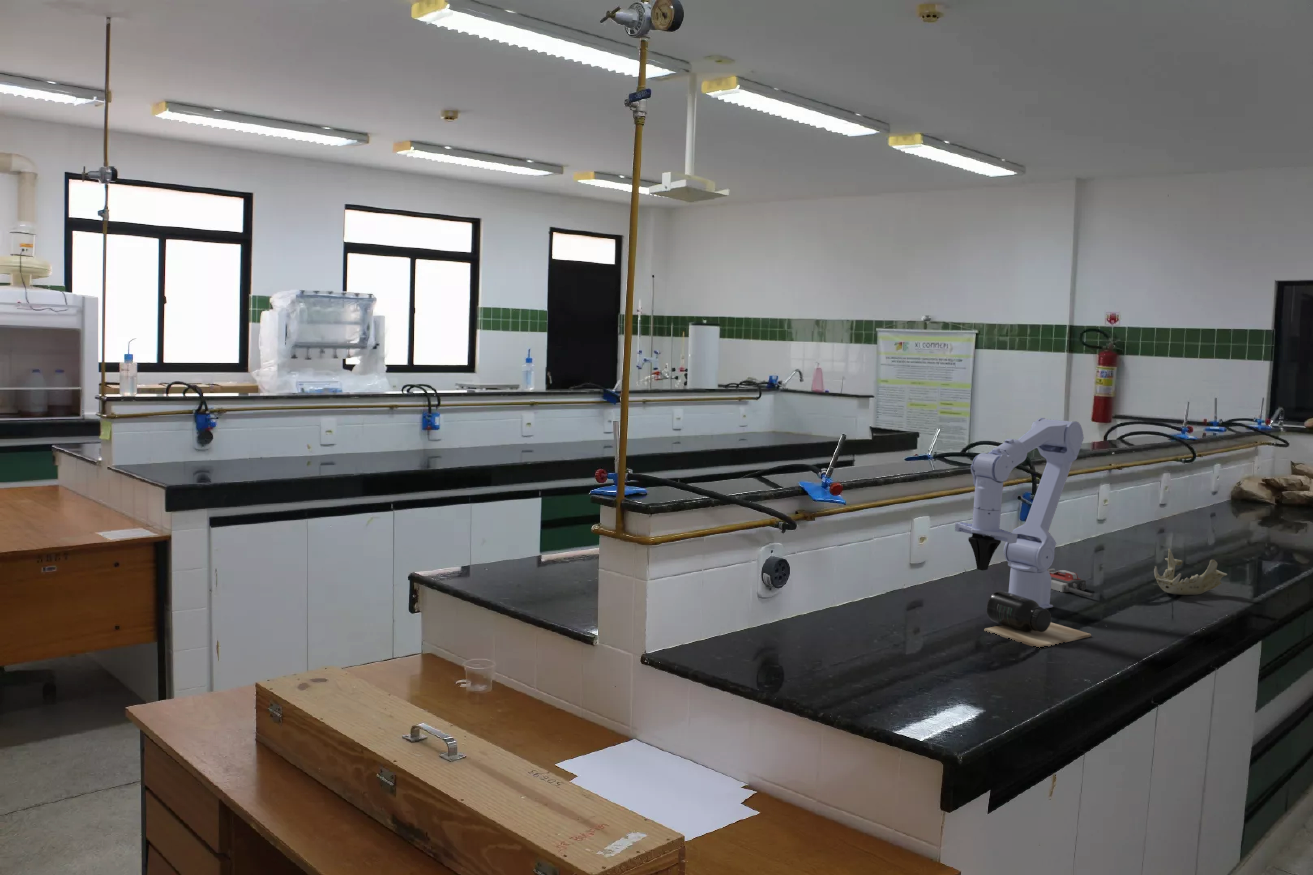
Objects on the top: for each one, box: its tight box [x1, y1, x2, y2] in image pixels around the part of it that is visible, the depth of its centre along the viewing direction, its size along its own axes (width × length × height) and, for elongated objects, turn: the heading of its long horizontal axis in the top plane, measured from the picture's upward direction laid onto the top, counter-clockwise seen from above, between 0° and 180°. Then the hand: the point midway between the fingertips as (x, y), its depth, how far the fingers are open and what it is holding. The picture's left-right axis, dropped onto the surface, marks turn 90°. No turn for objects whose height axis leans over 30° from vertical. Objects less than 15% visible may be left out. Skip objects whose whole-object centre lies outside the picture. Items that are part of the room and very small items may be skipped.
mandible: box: [1153, 548, 1228, 596], centre depth 248 cm, size 19×16×10 cm
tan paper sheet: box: [983, 621, 1092, 649], centre depth 206 cm, size 18×13×1 cm
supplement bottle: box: [986, 590, 1052, 632], centre depth 207 cm, size 7×7×12 cm
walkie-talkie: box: [1047, 568, 1095, 598], centre depth 247 cm, size 9×4×20 cm
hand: (982, 569), depth 217 cm, fingers closed
